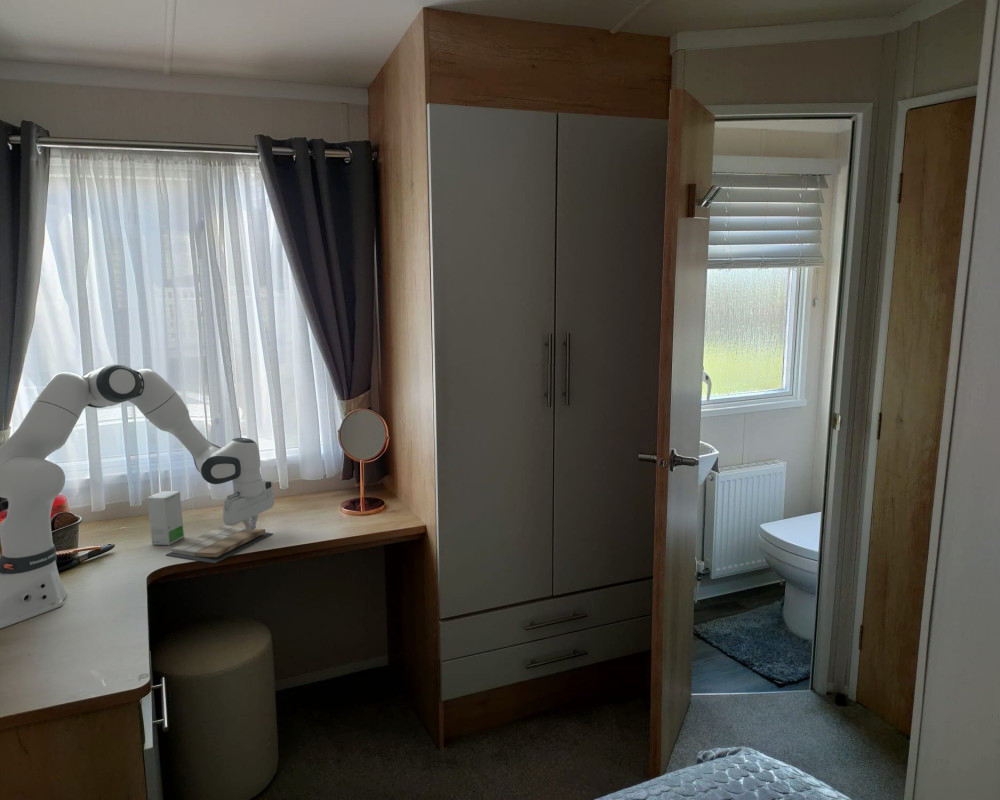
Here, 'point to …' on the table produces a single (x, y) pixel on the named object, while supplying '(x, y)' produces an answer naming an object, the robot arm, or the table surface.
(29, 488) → the robot arm
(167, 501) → the skincare box
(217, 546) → the plank
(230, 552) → the underlay
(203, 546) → the laid floor
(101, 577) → the table surface
